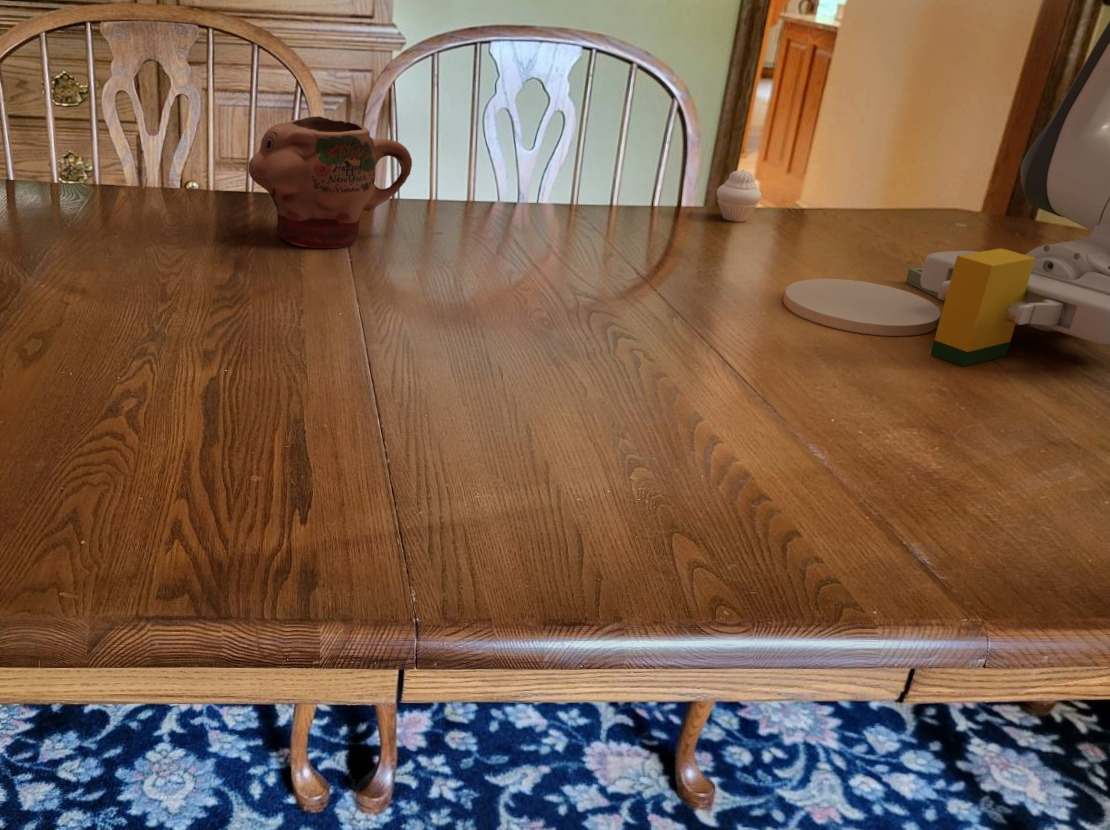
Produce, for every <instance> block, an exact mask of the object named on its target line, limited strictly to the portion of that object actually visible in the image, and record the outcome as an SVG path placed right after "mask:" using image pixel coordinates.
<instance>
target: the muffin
mask: <svg viewBox="0 0 1110 830" xmlns="http://www.w3.org/2000/svg"><path fill="white" fill-rule="evenodd" d="M716 197H717V204H718V207H719V210H720V213H721V215H722V219H724V220H726V221H729V222H735V223H736V222H737V223H741V222H746V221H747V220H748V219H749V217H750V216H751V215H752V214H753V212H754V211H755V210H756V208H757V207H758V206H759V204H758V203H760V201H761V199H762V192H761V190H760V189H759V188H758V185H757V183H756V176H755V175H754V173H752V172H750V171H747V170H745V169H744V168H743V169H742V170H741V169H740V170H739V169H738V170H734V171H732V172H731V173H730V174H729V176H728V179H727V180H725V182H724V184H721V185H719V187H717V190H716Z"/></svg>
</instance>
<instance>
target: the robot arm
mask: <svg viewBox="0 0 1110 830" xmlns="http://www.w3.org/2000/svg"><path fill="white" fill-rule="evenodd" d="M1020 181H1021V187H1022V191H1023V194H1024V197H1025V199H1026V201H1027V203H1028V204H1029V205H1030V206H1032V207H1034V208H1037V209H1039V210H1041V211H1044V212H1047V213H1049V214H1052V215H1055V216H1057V217H1060V218H1064V219H1067V220H1069V221H1071V222H1073V223H1075V224H1077V225H1079V226H1081V227H1083V228H1085V229H1087V230H1089V231H1091V232H1090V234H1089V235H1088V236H1087V237H1085V238H1082V239H1073V240H1067V241H1062V242H1056V243H1051V244H1044V245H1040V246H1037V247H1035V248H1033V249H1031V250H1030V251H1028V252H1027V253H1026V254H1025V255H1027V256H1031V257H1034V258H1035V261H1034V264H1033V268H1032V271H1031V274H1030V278H1029V281H1028V284H1027V288H1026V291H1025V294H1024V298H1023V301H1017V302H1012V303H1010V304H1009V306H1008V308H1007V312H1008V313H1007V314H1005V320H1006V321H1009V322H1012V323H1015V325H1019V326H1022V325H1026V324H1027V325H1028V326H1030V327H1032V328H1034V329H1037V330H1040V331H1044V332H1059V333H1062V334H1065V335H1068V336H1072V337H1074V338H1078V339H1081V340H1084V341H1087V342H1089V343H1093V344H1095V345H1103V346H1110V20H1109V21H1108V22H1107V24H1106V26H1105V27H1104V29H1103V31H1102V33H1101V34H1100V36H1099V37H1098V39H1097V41H1096V43H1095V44H1094V46H1093V48H1092V50H1091V51H1090V53H1089V55H1088V57H1087V58H1086V60H1085V61H1084V63H1083V65H1082V66H1081V68H1080V70H1079V72H1078V74H1077V75H1076V77H1075V79H1074V81H1073V82H1072V84H1071V86H1070V87H1069V88H1068V91H1067V93H1066V94H1065V96H1064V98H1063V100H1062V101H1061V103H1060V104H1059V106H1058V108H1057V110H1056V111H1055V113H1054V115H1053V116H1052V117H1051V119H1050V120H1049V121H1048V123H1047V124H1046V125H1045V127H1044V128H1043V129H1042V131H1040V133H1039V135H1038V136H1037V137H1036V139H1035V140H1034V141H1033V142H1032V145H1031V146H1030V148H1029V149H1028V151H1027V152H1026V154H1025V156H1024V158H1023V159H1022V161H1021V164H1020ZM976 252H977V251H974V250H952V251H951V250H950V251H938V252H932V253H929V254H928V255H927V256H926V258H925V259H924V262H923V266H922V268H923V269H922V273H921V280H920V281H921V286H922V287H923V288H925V289H928V290H931V291H934V292H937V293H938V298H939V299H938V298H937V299H938V300H940V299H942V300H945V299H946V295H947V292H948V288H949V284H950V280H951V277H952V273H953V269H954V266H955V262H956V258H957V256H958V255H964V254H970V253H976ZM942 300H941V301H942Z"/></svg>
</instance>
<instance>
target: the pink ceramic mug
mask: <svg viewBox="0 0 1110 830" xmlns="http://www.w3.org/2000/svg"><path fill="white" fill-rule="evenodd" d="M260 143H261V144H260V148H259V149H258V152H257V153H256V154H254V155H253V156H252V157H251V159H250V160H249V162H248V174H249V176H250V178H251V179H252V181H253V182H255V183H256V184H257V185H259V186H260V187H261V188H263V189H264V190H265V191H266V192H267V193H268V194H269V195H270V197H271V199H272V201H273V203H274V206H275V208H276V213H277V220H276V232H277V235H278V237H279V238H280V239H282V240H284V241H285V242H286V243H289V244H291V245H292V244H293V245H295V246H300V247H303V248H312V249H314V248H315V249H331V248H332V249H334V248H335V249H336V248H344V247H345V248H346V247H350V246H352V244H354V243H355V242H356V241H357V238H358V235H359V229H360V224H361V223H360V222H361V213H362V210H364V211H366V212H371V211H373V210H374V209H376V208H377V207H379V206H380V205H382V204H383V203H385V202H387V201H388V200H389V199H391V198H392V197H393V196H394V195H395V194H396V193H398V192H399V191H400V189H401V188H402V186H403V185H404V184H405V183H406V181H407V179H408V177H409V176H410V175H411V171H412V167H413V160H412V157H411V153H410V152H409V150H408V149H407V148H406V146H404V145H403V144H402V143H400V142H399V141H396V140H393V139H389V138H372V137H371V134H370V130H369V128H366V127H365V126H363V125H362V124H359V123H353V122H349V121H346V120H337V119H330V118H327V117H322V116H319V115H318V116H317V115H316V116H309V117H304V118H298V119H293V120H289V121H286V122H280V123H277V124H274V125H273V126H270V127H269V128H268V129H267V130H266V132H265V133H264V134H263V136H262V138H261V142H260ZM384 157H392V158H394V159H395V160H396V161H397V162H398V164H399V166H400V167H399V168H400V173H399V176H398V177H397V178H396V179H395V181H394V182H393V183H392V184H391V185H390V186H388V187H386V188H379V187H378V186H377V185H376V178H377V176H376V175H377V173H376V172H377V171H376V170H377V169H376V167H377V164H378V162H379V161H380V160H381V159H382V158H384Z"/></svg>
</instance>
